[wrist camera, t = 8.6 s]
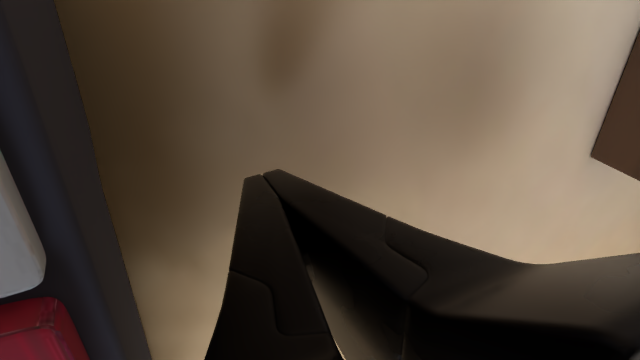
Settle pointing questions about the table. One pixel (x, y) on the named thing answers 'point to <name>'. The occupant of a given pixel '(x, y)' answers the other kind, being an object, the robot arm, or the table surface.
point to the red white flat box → (54, 208)
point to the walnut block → (623, 122)
